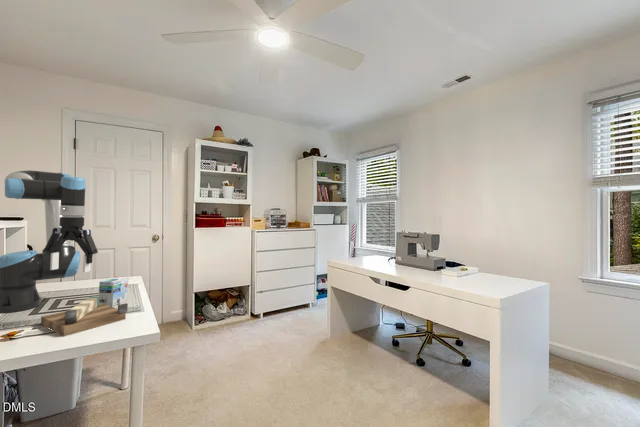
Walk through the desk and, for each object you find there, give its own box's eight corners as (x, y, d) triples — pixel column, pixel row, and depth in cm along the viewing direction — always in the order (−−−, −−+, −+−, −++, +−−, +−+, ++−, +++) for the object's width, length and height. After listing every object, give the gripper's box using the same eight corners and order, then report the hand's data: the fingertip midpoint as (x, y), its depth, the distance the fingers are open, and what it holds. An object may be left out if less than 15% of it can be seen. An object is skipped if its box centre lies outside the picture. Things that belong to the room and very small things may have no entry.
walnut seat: (40, 324, 113) (41, 308, 113) (102, 310, 131) (103, 295, 131) (64, 336, 104) (65, 318, 104) (127, 318, 122) (127, 303, 122)
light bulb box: (112, 306, 136) (113, 282, 136) (97, 305, 136) (98, 281, 136) (128, 299, 146) (129, 277, 146) (114, 298, 147) (115, 276, 147)
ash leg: (74, 323, 107) (74, 312, 107) (62, 324, 106) (62, 313, 106) (98, 305, 127) (99, 296, 127) (88, 305, 126) (89, 296, 126)
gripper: (33, 214, 118) (31, 270, 118) (94, 218, 116) (92, 274, 116) (51, 214, 125) (50, 266, 126) (109, 217, 123) (107, 270, 124)
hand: (70, 270), depth 121 cm, fingers open, 13 cm apart
